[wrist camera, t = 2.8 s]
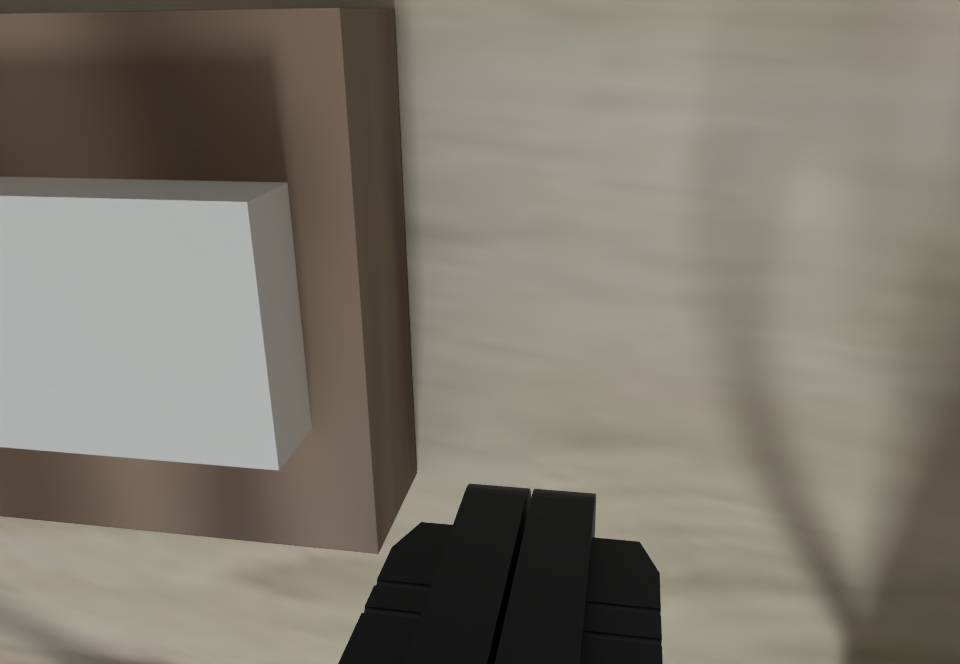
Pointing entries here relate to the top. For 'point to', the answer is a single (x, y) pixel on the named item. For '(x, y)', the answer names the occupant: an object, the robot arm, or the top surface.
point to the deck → (316, 236)
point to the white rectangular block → (151, 320)
